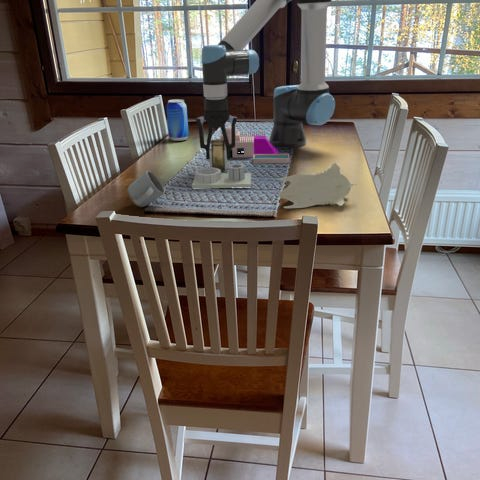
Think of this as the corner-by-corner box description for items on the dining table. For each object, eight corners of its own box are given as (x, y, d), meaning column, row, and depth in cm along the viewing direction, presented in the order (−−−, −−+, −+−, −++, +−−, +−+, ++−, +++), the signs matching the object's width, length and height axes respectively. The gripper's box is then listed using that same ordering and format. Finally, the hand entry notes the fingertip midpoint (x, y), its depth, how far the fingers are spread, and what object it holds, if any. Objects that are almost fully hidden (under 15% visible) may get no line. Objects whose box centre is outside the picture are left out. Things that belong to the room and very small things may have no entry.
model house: (219, 165, 165) (217, 135, 160) (222, 151, 181) (221, 124, 176) (289, 164, 164) (290, 133, 159) (286, 151, 180) (287, 123, 175)
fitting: (225, 167, 161) (224, 139, 156) (225, 171, 157) (224, 142, 152) (212, 167, 161) (211, 139, 156) (211, 171, 157) (210, 142, 152)
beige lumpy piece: (283, 215, 123) (275, 172, 124) (279, 219, 135) (273, 180, 136) (364, 202, 123) (356, 159, 124) (354, 207, 135) (347, 168, 135)
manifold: (251, 177, 151) (250, 160, 148) (251, 188, 141) (250, 171, 138) (196, 178, 151) (194, 161, 149) (192, 189, 141) (191, 172, 139)
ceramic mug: (145, 209, 132) (130, 186, 132) (168, 193, 131) (153, 170, 131) (131, 210, 122) (115, 185, 122) (156, 193, 121) (140, 168, 121)
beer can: (165, 140, 198) (161, 101, 191) (175, 135, 205) (172, 98, 198) (183, 141, 195) (179, 102, 188) (192, 137, 202) (189, 99, 195)
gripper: (242, 95, 151) (244, 164, 162) (190, 96, 152) (194, 165, 162) (242, 98, 145) (244, 170, 155) (187, 100, 145) (192, 171, 155)
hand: (218, 167), depth 158 cm, fingers closed on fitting, 4 cm apart
